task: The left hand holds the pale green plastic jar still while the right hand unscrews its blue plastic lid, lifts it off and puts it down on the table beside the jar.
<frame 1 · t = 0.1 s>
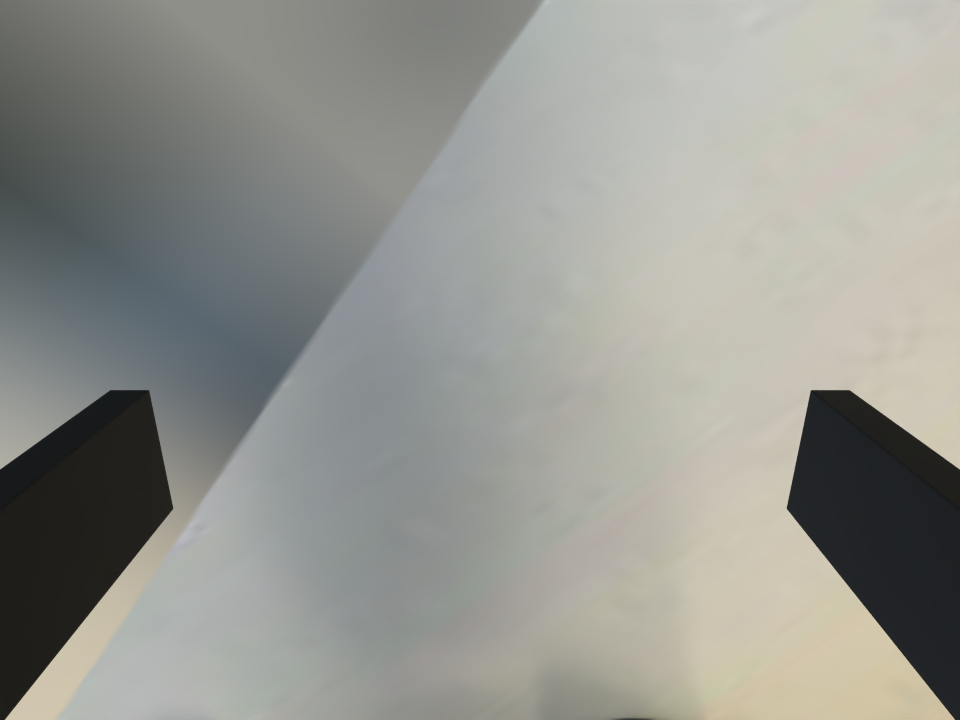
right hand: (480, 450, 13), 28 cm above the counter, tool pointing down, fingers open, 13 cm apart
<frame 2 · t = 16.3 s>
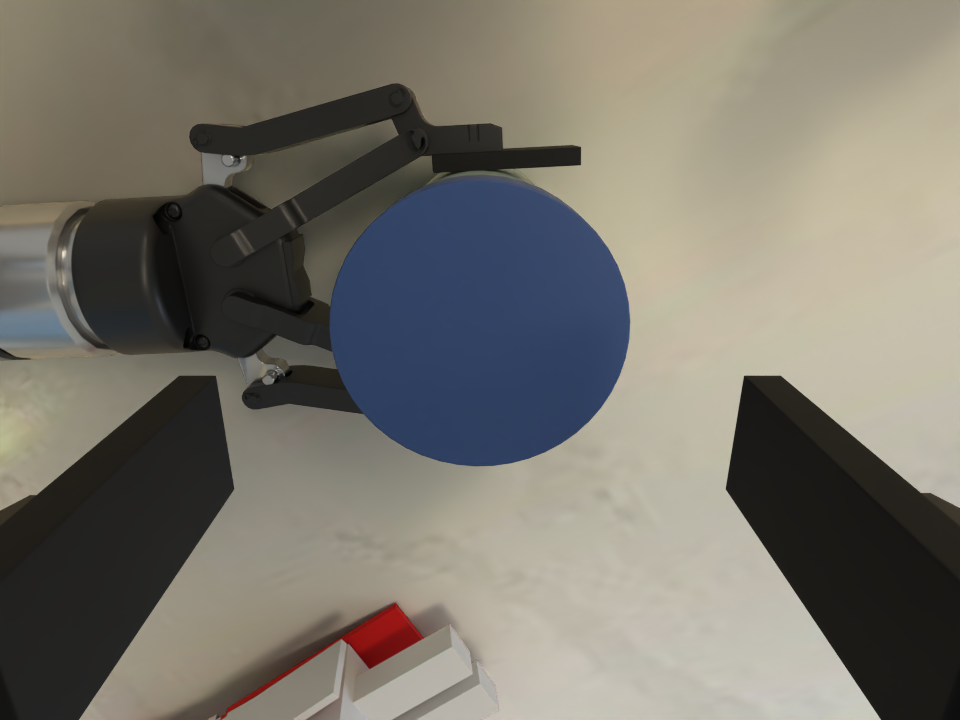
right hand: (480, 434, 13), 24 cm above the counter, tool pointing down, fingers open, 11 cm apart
left hand: (575, 255, 30), fingers closed on jar, 9 cm apart
toy: (306, 695, 49), on the counter
lid: (479, 331, 20), point 17 cm above the counter, screwed on, not yet turned
jar: (479, 238, 36), on the counter, touching left hand
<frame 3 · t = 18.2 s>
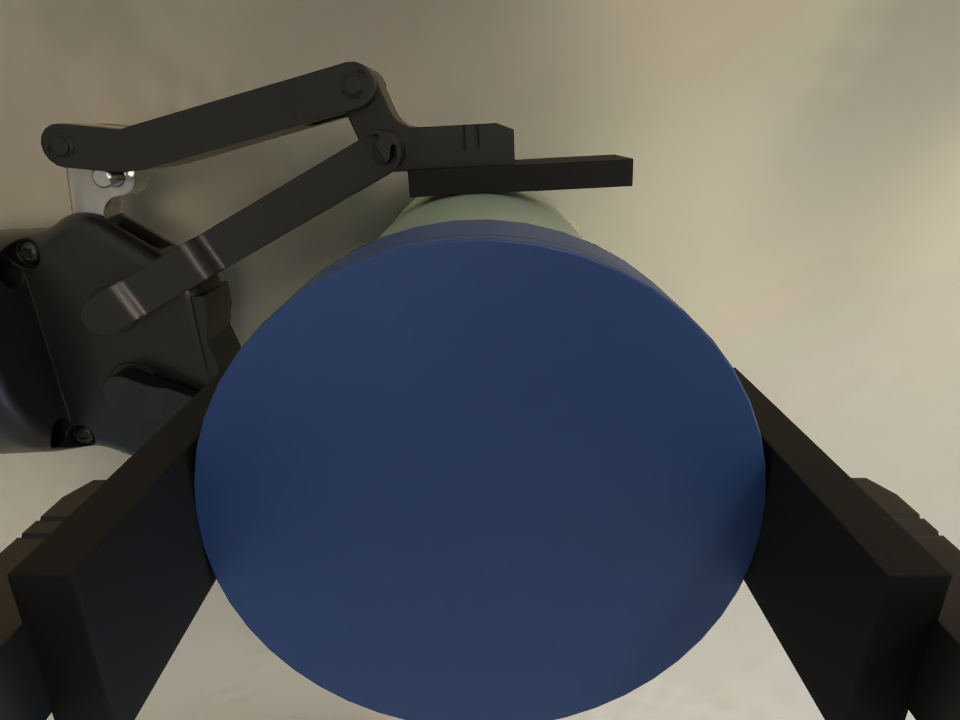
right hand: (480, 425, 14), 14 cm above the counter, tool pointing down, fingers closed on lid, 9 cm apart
left hand: (618, 313, 21), fingers closed on jar, 9 cm apart
lid: (480, 511, 11), point 17 cm above the counter, screwed on, not yet turned, touching right hand
jar: (480, 277, 27), on the counter, touching left hand
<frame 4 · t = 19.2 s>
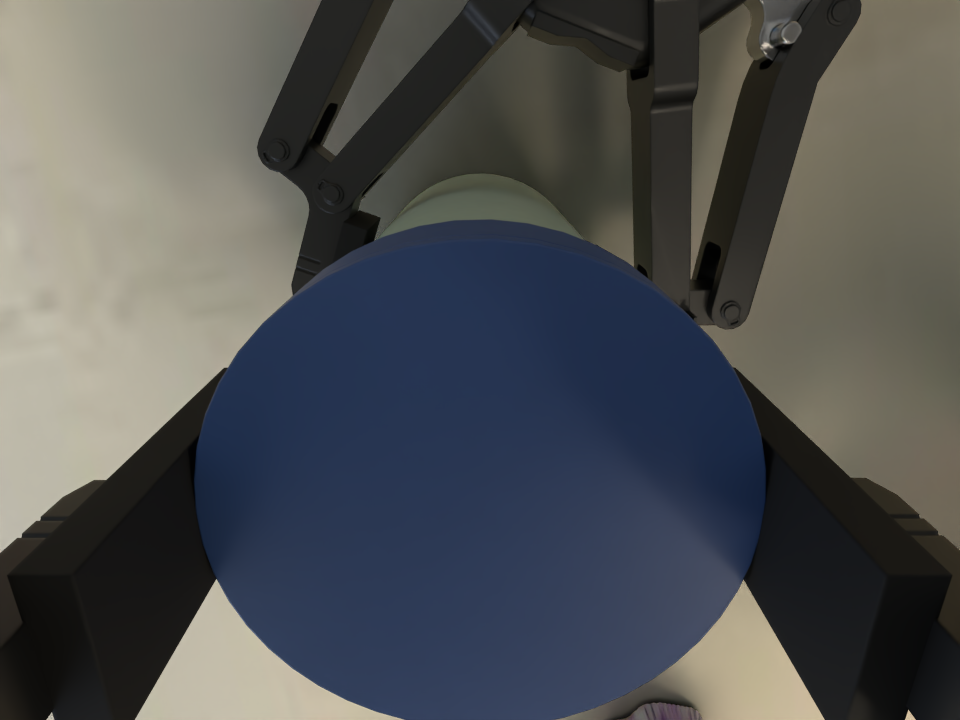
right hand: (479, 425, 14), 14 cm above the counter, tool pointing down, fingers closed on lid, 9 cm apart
left hand: (438, 432, 23), fingers closed on jar, 9 cm apart
lid: (480, 511, 11), point 18 cm above the counter, off its thread, touching right hand
jar: (480, 275, 27), on the counter, touching left hand
when the right hand's fingers open (0 cm above the counter, at t = 25.8 s): lid drops 2 cm, point 2 cm above the counter.
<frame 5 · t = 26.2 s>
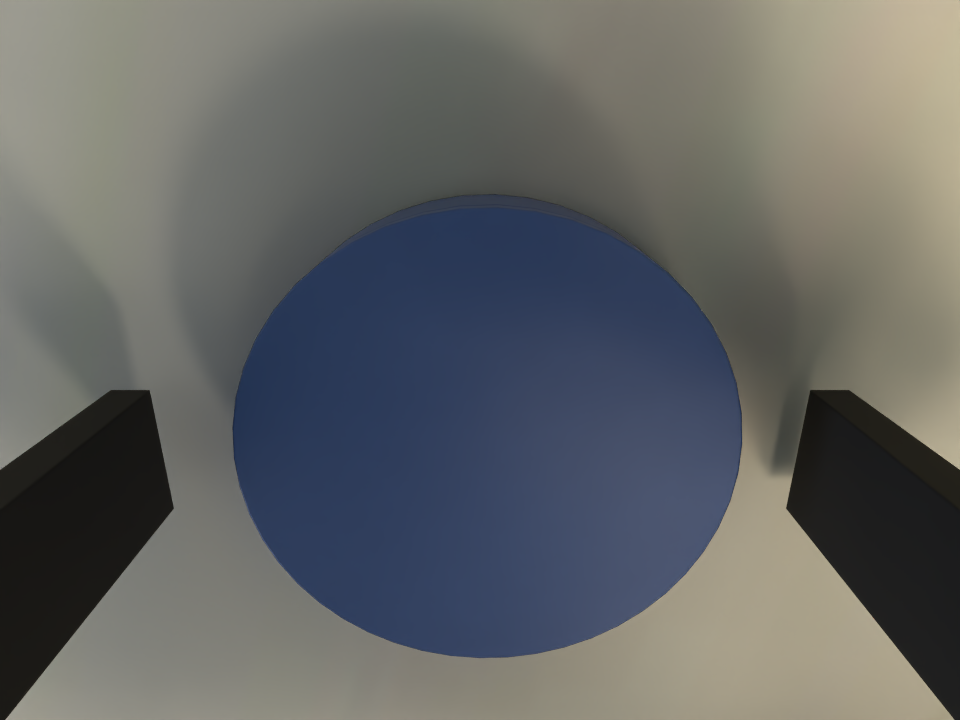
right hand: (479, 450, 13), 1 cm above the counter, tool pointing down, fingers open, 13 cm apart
lid: (486, 456, 12), point 2 cm above the counter, off its thread
when the left hand's fingers open (6 cm above the counter, at t = 26.8 s): jar stays where it is, on the counter.
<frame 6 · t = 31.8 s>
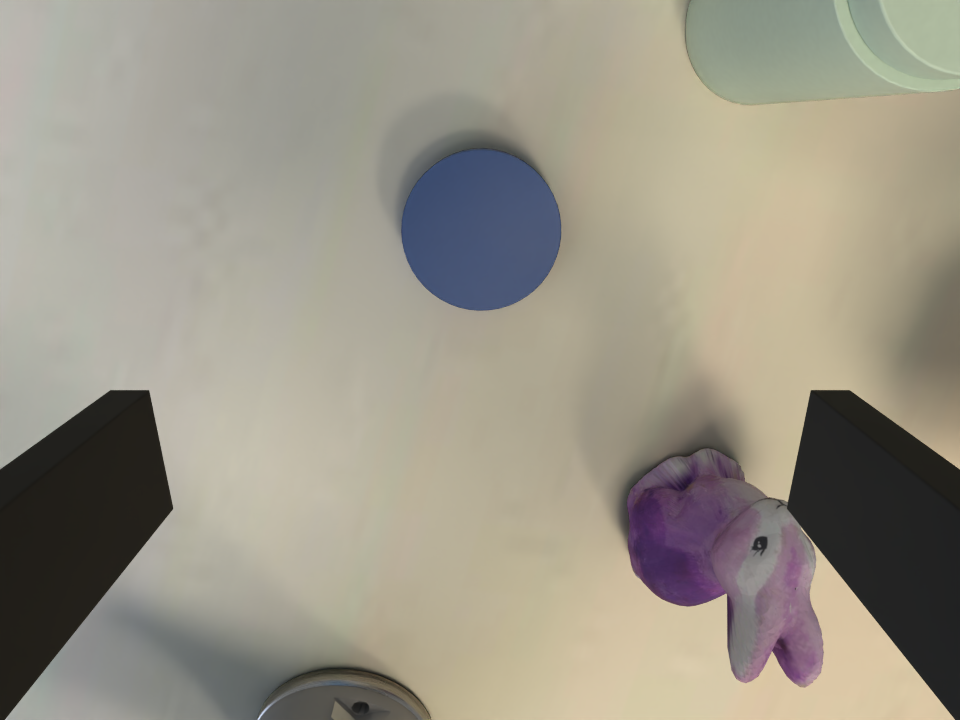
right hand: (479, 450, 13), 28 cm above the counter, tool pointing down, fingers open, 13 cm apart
lid: (481, 232, 37), point 2 cm above the counter, off its thread
jar: (762, 21, 34), on the counter
figurine: (680, 495, 45), on the counter
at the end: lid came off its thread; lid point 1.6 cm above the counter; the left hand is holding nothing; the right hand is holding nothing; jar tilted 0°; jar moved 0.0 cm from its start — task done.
